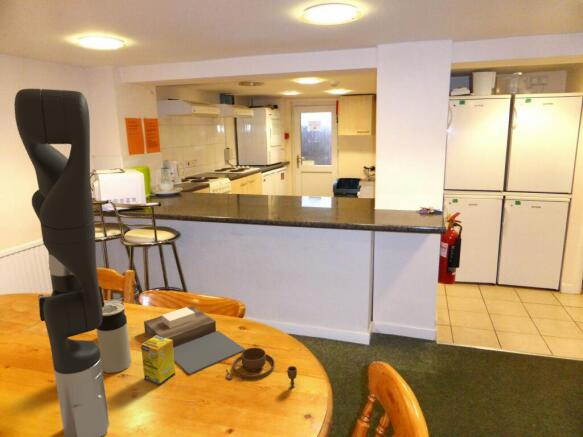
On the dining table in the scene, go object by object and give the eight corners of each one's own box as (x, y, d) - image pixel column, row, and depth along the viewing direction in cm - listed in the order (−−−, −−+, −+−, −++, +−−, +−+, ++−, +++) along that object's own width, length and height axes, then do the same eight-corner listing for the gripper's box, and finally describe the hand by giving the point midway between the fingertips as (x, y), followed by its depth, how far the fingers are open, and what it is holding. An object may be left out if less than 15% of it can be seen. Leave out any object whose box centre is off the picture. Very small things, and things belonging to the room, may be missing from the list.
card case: (195, 319, 139) (194, 312, 138) (170, 328, 133) (169, 321, 133) (187, 313, 143) (186, 307, 143) (162, 321, 138) (161, 315, 137)
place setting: (277, 352, 127) (276, 334, 126) (301, 390, 109) (301, 370, 107) (220, 364, 121) (219, 346, 120) (236, 406, 103) (235, 385, 101)
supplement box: (144, 380, 113) (140, 344, 110) (160, 369, 118) (156, 334, 115) (160, 386, 110) (156, 349, 107) (175, 374, 115) (172, 339, 113)
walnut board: (216, 331, 139) (215, 320, 138) (165, 351, 127) (164, 339, 126) (193, 316, 150) (192, 305, 150) (144, 332, 139) (143, 321, 138)
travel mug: (108, 377, 114) (101, 317, 110) (97, 366, 120) (89, 308, 116) (136, 365, 120) (130, 308, 116) (124, 355, 125) (117, 300, 121)
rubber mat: (245, 350, 127) (245, 349, 127) (189, 375, 115) (189, 373, 115) (218, 331, 139) (218, 330, 138) (164, 352, 126) (164, 350, 126)
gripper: (34, 280, 94) (44, 343, 98) (102, 267, 101) (108, 326, 106) (32, 269, 99) (41, 329, 104) (96, 258, 107) (102, 314, 112)
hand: (75, 328), depth 105 cm, fingers open, 8 cm apart
